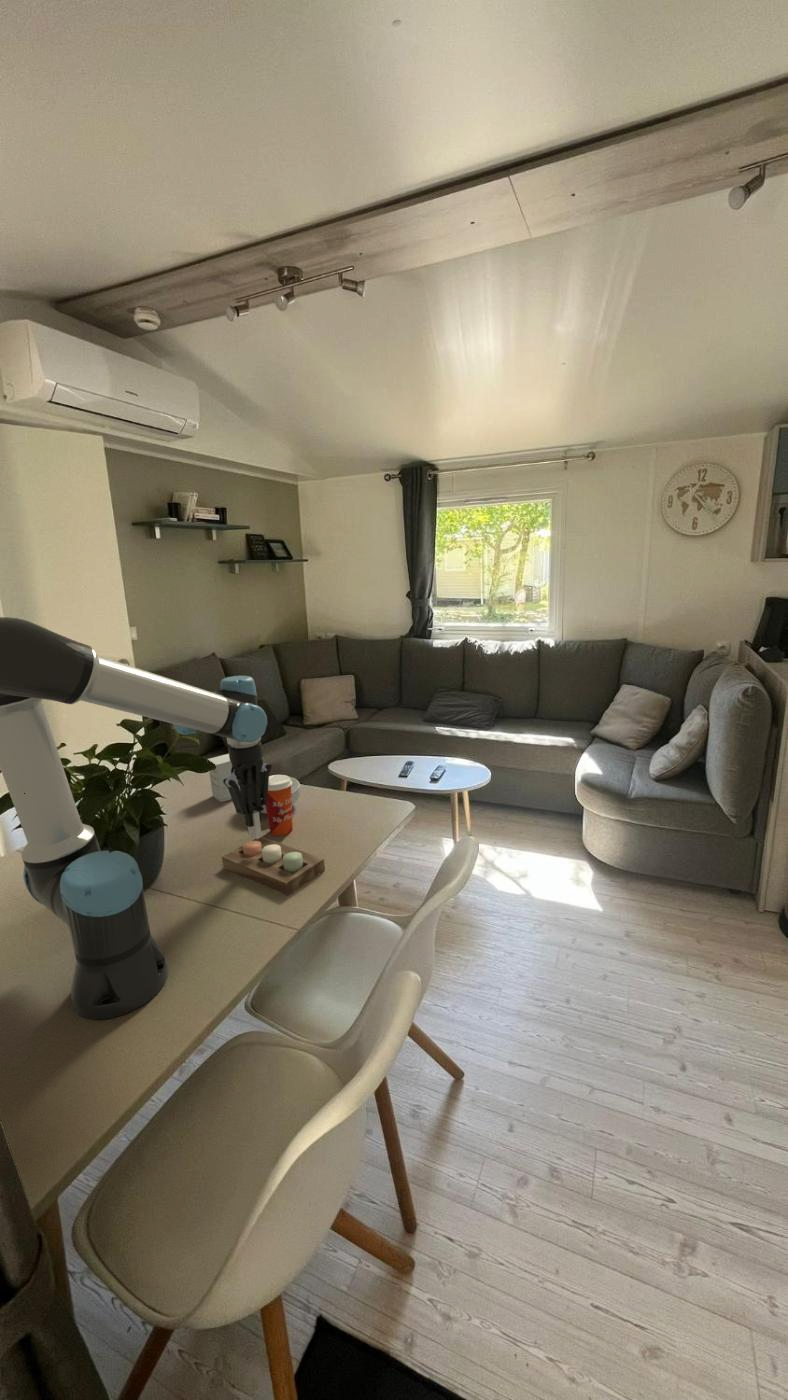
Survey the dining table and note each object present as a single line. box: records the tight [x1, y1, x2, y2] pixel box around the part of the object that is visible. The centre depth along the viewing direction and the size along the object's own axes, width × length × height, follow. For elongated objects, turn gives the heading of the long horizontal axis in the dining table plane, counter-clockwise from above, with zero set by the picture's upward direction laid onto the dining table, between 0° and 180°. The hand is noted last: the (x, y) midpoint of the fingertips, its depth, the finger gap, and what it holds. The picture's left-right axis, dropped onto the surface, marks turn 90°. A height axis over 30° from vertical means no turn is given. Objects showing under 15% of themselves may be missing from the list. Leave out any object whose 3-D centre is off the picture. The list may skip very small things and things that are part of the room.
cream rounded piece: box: [262, 844, 282, 865], centre depth 133 cm, size 4×4×4 cm
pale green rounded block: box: [283, 852, 303, 874], centre depth 129 cm, size 4×4×4 cm
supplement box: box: [207, 753, 240, 803], centre depth 177 cm, size 7×7×13 cm
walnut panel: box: [221, 836, 326, 896], centre depth 134 cm, size 12×22×3 cm, turn 54°
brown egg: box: [242, 840, 262, 857], centre depth 137 cm, size 4×4×4 cm
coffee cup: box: [265, 774, 293, 837], centre depth 151 cm, size 8×8×15 cm
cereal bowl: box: [261, 776, 301, 815], centre depth 167 cm, size 17×17×7 cm
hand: (255, 836), depth 135 cm, fingers closed
